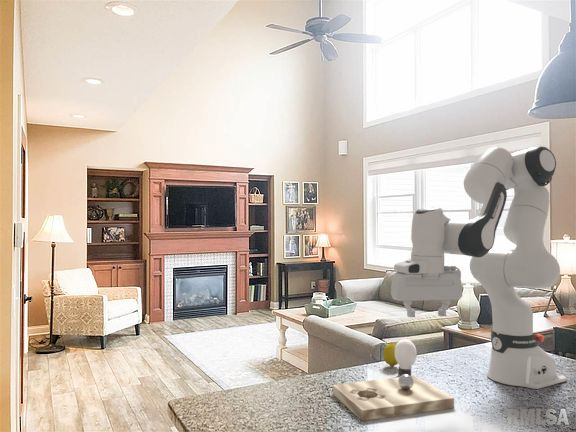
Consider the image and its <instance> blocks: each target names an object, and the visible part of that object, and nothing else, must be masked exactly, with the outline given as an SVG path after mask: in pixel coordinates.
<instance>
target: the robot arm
mask: <svg viewBox="0 0 576 432" xmlns="http://www.w3.org/2000/svg"><path fill="white" fill-rule="evenodd" d="M556 159H557V158H556V157H555V155H554V153H553V152H552V151H551V150H550V149H549V148H548V147H546V146H532V147H530V148H528V149H527V148H526V149H523V150H520V151H519V150H518V151H516V152H514V153H510V151H509V150H507V149H505V148H503V147H501V146H493V147H491V148H488V149H486V150H485V151H484V152H482V154H481V155H480V156H478V158H477V159H476V160H475V161H474V163H473V164H472V166H471V167H470V168H469V170H468V171H467V172H466V175H465V177H464V180H463V189H464V191H465V193H466V195H468V196H469V198H470V199H472V200H473V201H474V202H476V203H478V204H482V206H481V208H480V210H479V213H478V216H476V217H474V218H472V219H471V218H470V219H462V220H461V219H460V220H459V219H456V220H455V219H454V220H453V219H451V218H449V217H447V216H446V215H445V214H444V212H443V209H442V208H441V207H435V206H432V207H431V206H430V207H424V208H422V207H421V208H420V209H417V210H415V212H414V214H413V216H412V221H411V237H410V238H411V239H410V240H411V243H412V249H411V252H410V258H408V259H406V260H402V261H401V262H398V263H395V264H394V265H393V270H394V271H395V273H394V274H393V275H392V277H391V285H390V296H391V297H392V299H393V300H394V301H399V302H403V303H402V304H403V305H404V307H405V310H406V315H407V317H408V318H415V317H416V310H414V309H413V308H412V306H411V305H412V303H413V301H416V302H417V301H441V303H442V304H441V307H440V308H438V309H437V316H439V317H446V316H447V310H448V308H449V306H450V305H451V301H457V300H461V299H462V297H463V284H462V279H461V278H462V271H461V270H460V269H459V268H458V267H457V266H455V265H451V266H450V265H445V254H449V255H450V254H451V255H461V256H467V257H471V258H470V261H469V270H470V273H471V275H472V277H473V278H474V279H475V280H476V281H477V282H478V283H479V284H480V285H481V286H482V287H483V289H484V290H485V292H486V294H487V296H488V298H489V299H488V300H489V301H490V305H491V315H492V329H491V330H490V343H491V352H490V358H489V359H490V360H489V365H488V370H487V373H486V376H487V377H488V378H489V379H490V380H492V381H494V382H497V383H500V384H504V385H508V386H516V387H525V388H529V389H532V390H533V389H534V390H539V389H543V388H547V387H549V386H550V387H551V386H553V385H557V384H560V383H563V382H566V381H567V379H566V376H564V375H563V374H562V373H559V372H557V371H558V370H557V365H556V364H557V363H556V360H555V359H554V357H552V356H551V355H550V354H549V353H548V352H546V351H545V350H544V349H543V348H541V347H540V346H539V344H538V341H539V342H541V343H543V342H544V341H545V336H544V335H543V334H540V333H536V334H535V333H534V310H533V308H532V306H531V305H530V304H529V303H528V301H526V300H525V299H524V298H521V296H519V295H518V294H517V292H516V290H515V287H516V288H527V289H533V290H534V289H545V288H546V289H547V288H551V287H553V286H554V285H555V284H556V283H557V282H558V280H559V278H560V275H561V269H560V267H561V266H560V264H559V262H558V260H557V258H556V257H555V256H554V255H553V254H551V253H550V252H549V251H548V250H547V249H546V247H545V245H544V232H545V228H546V223H547V219H548V215H549V214H548V213H549V210H550V191H549V189H548V188H547V185H549V184H550V183H551V181H552V180H553V176H554V175H555V171H556V168H557V161H556ZM509 189H513V191H514V192H513V193H514V196H513V198H512V201H511V204H510V205H509V209H508V212H507V217H506V219H505V222H504V226H503V233H504V236H505V237H506V240H508V241H509V242H511V243H512V244H515V245H516V247H515V248H514V249H500V248H497V249H496V248H495V249H494V248H493V247H494V243H495V239H496V232H497V230H498V229H497V228H498V226H499V223H500V220H501V218H502V214H503V211H504V208H505V205H506V202H507V197H508V194H507V193H508V192H507V191H508V190H509Z"/></svg>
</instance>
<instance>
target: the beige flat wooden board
mask: <svg viewBox="0 0 576 432" xmlns="http://www.w3.org/2000/svg"><path fill="white" fill-rule="evenodd" d="M399 377H400V376H397V377H390V378H382V379H381V378H379V379H375V380H365V381H364V380H363V381H355V382H346V383H340V384H339V383H338V384H332V395H333V396H334V397H335V398H336V399H338V401H340V402H341V403H342V404H343V405H344V406H345V408H348V410H350V411H351V412H352V413H353V414H354V415H355V416H356V417H357V418H358V419H360V420H361V421H362V422H365V421H371V420H372V419H373V420H379V419H378V418H380V419H384V418H383V417H387V418H392V416H393V417H398V416H399V417H400V416H406V415H412V414H413V415H414V414H419V413H420V414H421V413H427V412H434V411H441V410H447V409H454V408H455V397H454V396H451V395H449V394H448V393H447V392H446V391H445V392H444V391H443V390H441V389H440V388H438V387H435V386H434V385H432V384H430V383H429V382H427V381H425V380H423V379H421V378H420V377H418V376H416V375H411V377H412V378H413V381H414V384H413V387H412V388H411V389H409V390H404V389H402V388H401V387H400V386H399V383H398V380H399Z"/></svg>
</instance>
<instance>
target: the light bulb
mask: <svg viewBox="0 0 576 432" xmlns="http://www.w3.org/2000/svg"><path fill="white" fill-rule="evenodd" d="M395 344H396V346H395V351H394V354H395V359H396V361H397V363H398V364H397V365H398V368H397V369H398V372H397V373H398V375H399V376H401V375H403V374H408V375H410V376H412V369H413V367H412V366H413V365H414V364H415V362H416V360H417V356H418V355H417V354H418V352H417V348H416V346H415V344H414V343H413V341H412V340H410V339H408V338H402V339H400V340H399V341H398V342H397V343H395Z"/></svg>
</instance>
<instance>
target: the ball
mask: <svg viewBox="0 0 576 432" xmlns="http://www.w3.org/2000/svg"><path fill="white" fill-rule="evenodd" d="M411 376H412V375H411ZM411 376H410V375H408V374H403V375H399V376H398V377H399V380H398V383H399V386H400V387H401V388H402V389H404V390H409V389H411V388H412V387H413V384H414V381H413V378H412V377H411Z"/></svg>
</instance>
